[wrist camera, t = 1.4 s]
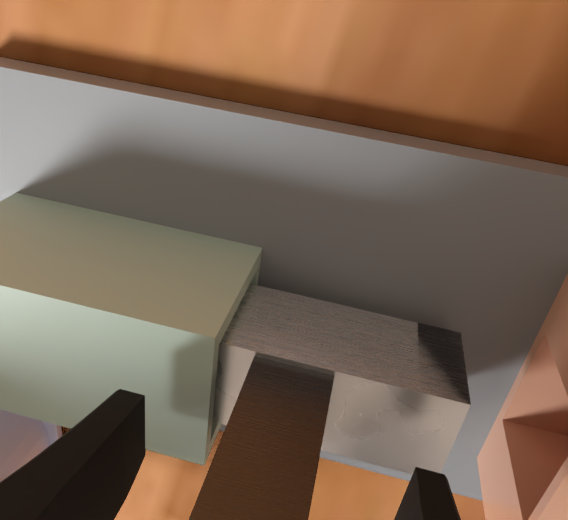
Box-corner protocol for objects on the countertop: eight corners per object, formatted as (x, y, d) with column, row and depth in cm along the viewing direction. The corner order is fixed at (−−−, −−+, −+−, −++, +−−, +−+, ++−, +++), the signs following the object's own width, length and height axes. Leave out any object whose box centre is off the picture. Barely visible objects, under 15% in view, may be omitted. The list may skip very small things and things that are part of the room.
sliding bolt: (28, 303, 17) (-181, 486, 11) (17, 229, 16) (-228, 393, 10) (432, 404, 16) (446, 679, 10) (461, 332, 14) (497, 602, 8)
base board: (35, 360, 21) (19, 377, 21) (-10, 54, 15) (-35, 59, 14) (587, 505, 19) (596, 531, 18) (797, 210, 13) (824, 227, 12)
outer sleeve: (32, 305, 19) (-64, 391, 15) (16, 192, 16) (-102, 260, 13) (248, 359, 18) (204, 465, 14) (262, 247, 15) (215, 338, 12)
